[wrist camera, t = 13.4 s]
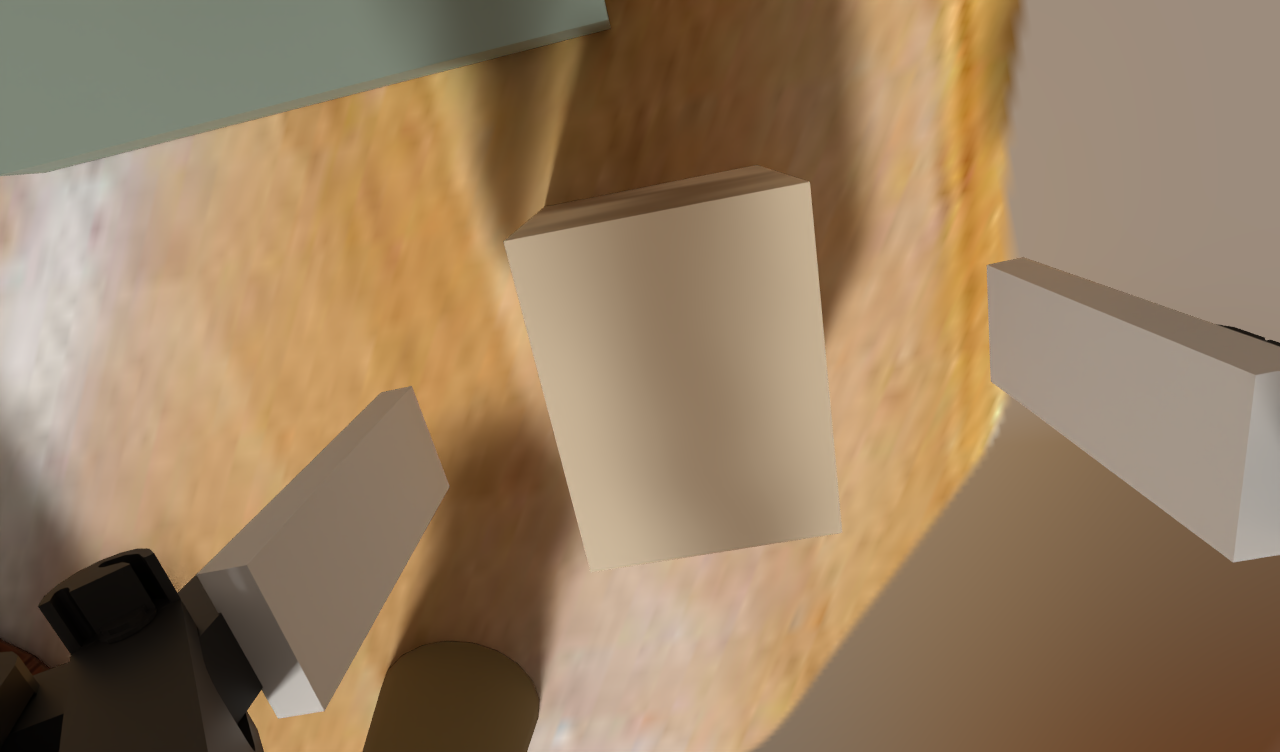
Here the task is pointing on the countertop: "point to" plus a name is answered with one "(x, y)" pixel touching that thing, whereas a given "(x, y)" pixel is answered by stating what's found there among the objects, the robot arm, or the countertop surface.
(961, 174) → the countertop surface
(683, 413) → the maple cap block
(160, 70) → the baseplate
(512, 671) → the olive pepper shaker
